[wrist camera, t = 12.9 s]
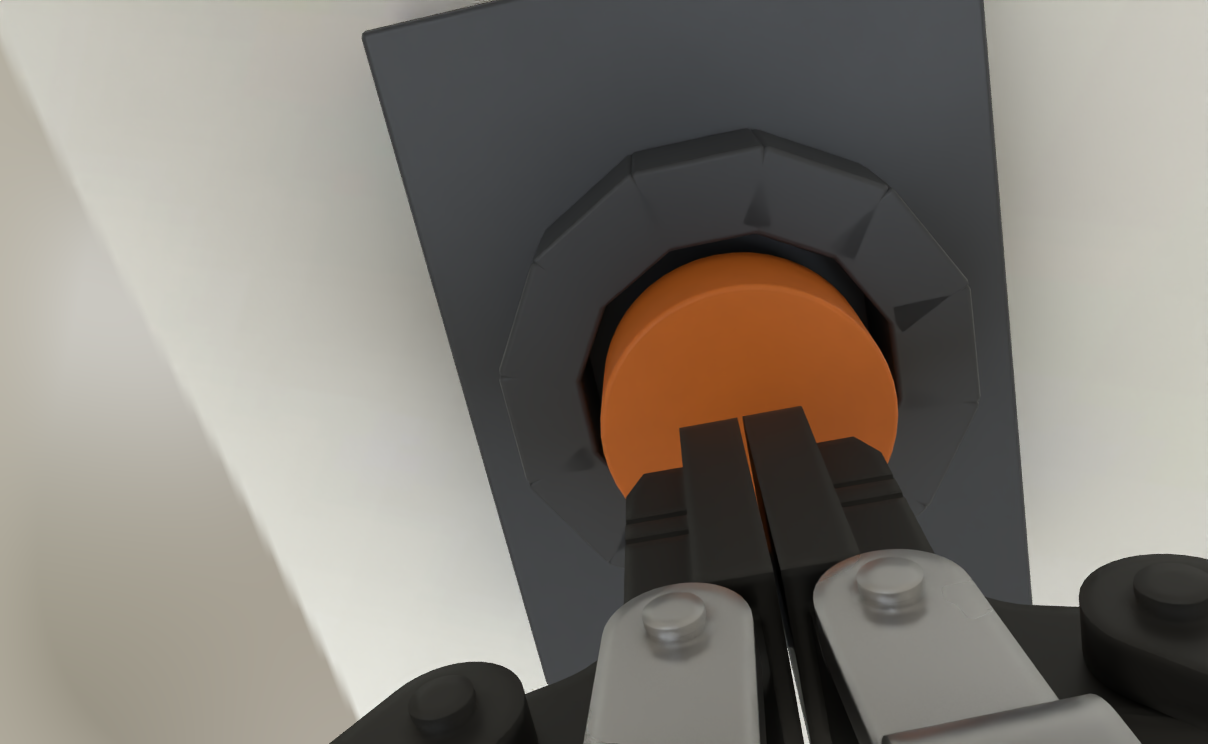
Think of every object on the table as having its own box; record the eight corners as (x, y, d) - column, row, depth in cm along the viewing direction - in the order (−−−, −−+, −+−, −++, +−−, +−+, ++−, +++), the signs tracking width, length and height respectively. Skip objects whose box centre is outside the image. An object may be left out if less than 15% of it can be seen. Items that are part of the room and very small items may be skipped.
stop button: (577, 281, 15) (570, 317, 13) (853, 225, 14) (881, 256, 13) (633, 518, 16) (633, 578, 15) (886, 473, 16) (914, 530, 14)
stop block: (392, 26, 17) (322, 38, 13) (933, -101, 16) (1022, -126, 12) (555, 619, 21) (538, 756, 17) (994, 546, 20) (1075, 673, 16)
